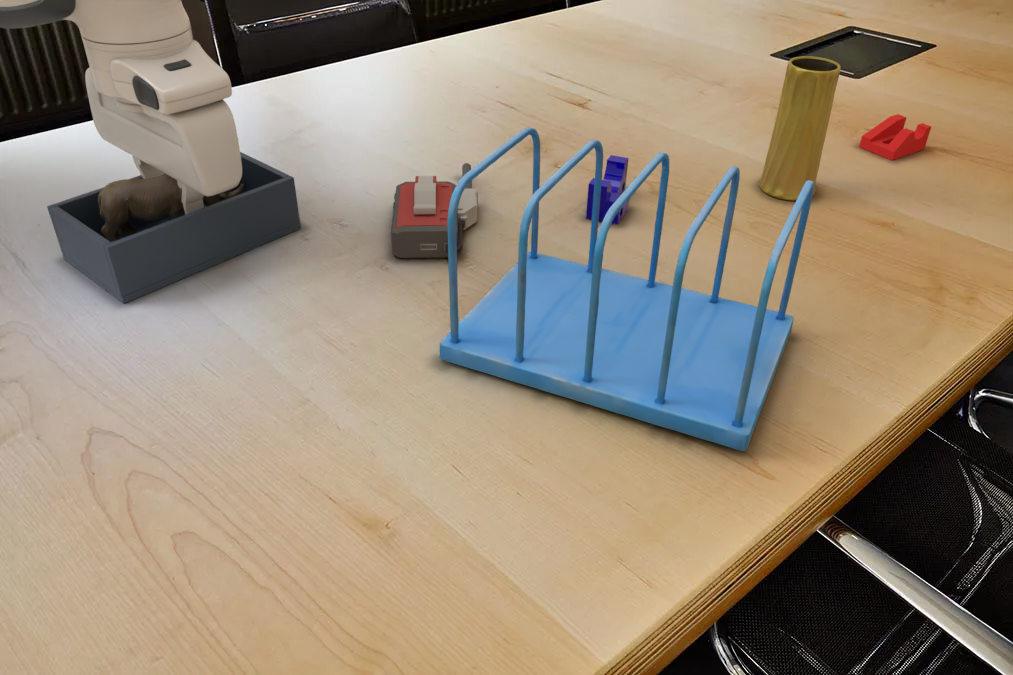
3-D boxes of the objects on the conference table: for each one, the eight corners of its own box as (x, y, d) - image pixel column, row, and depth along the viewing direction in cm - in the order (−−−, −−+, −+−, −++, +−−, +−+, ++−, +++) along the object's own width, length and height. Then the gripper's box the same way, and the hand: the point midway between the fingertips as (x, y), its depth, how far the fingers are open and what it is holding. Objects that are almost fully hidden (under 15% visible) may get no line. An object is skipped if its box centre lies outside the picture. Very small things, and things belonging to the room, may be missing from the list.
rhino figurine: (254, 222, 85) (244, 165, 81) (107, 254, 80) (89, 195, 76) (244, 205, 88) (233, 150, 84) (101, 235, 82) (84, 177, 79)
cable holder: (617, 224, 90) (621, 189, 87) (586, 218, 91) (588, 183, 88) (638, 193, 96) (641, 160, 93) (608, 188, 97) (610, 154, 94)
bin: (64, 259, 82) (46, 206, 79) (237, 194, 94) (228, 145, 91) (123, 303, 76) (107, 247, 73) (301, 228, 88) (294, 177, 85)
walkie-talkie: (481, 264, 82) (476, 176, 99) (481, 223, 80) (475, 140, 96) (389, 265, 82) (399, 177, 98) (386, 224, 79) (397, 140, 96)
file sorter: (791, 333, 74) (832, 168, 65) (744, 458, 61) (788, 273, 52) (527, 266, 82) (532, 111, 74) (438, 362, 70) (431, 190, 61)
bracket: (891, 136, 110) (897, 114, 109) (924, 149, 107) (931, 126, 105) (859, 146, 107) (865, 124, 106) (891, 160, 104) (898, 136, 102)
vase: (756, 176, 100) (781, 53, 92) (810, 179, 99) (839, 56, 91) (762, 199, 95) (788, 71, 87) (818, 203, 94) (850, 74, 86)
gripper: (53, 45, 78) (93, 184, 86) (173, 101, 67) (206, 254, 75) (119, 31, 82) (151, 165, 90) (242, 81, 71) (266, 229, 79)
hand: (177, 206), depth 83 cm, fingers closed on rhino figurine, 4 cm apart
